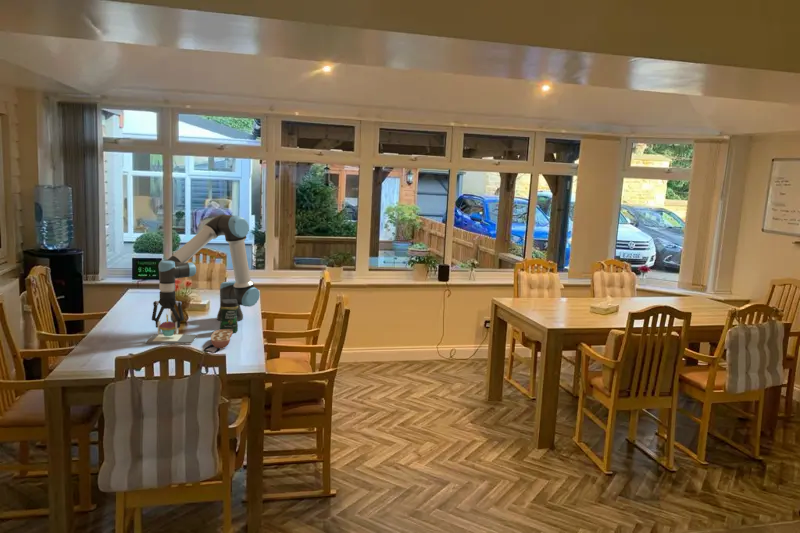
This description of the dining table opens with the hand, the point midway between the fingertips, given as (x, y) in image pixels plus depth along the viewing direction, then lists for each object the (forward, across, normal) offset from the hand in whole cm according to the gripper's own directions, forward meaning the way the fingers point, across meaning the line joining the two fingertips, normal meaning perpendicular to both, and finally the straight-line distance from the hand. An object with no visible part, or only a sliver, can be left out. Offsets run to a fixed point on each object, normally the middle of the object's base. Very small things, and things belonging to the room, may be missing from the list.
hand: (168, 333), depth 305 cm
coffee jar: (+4, +28, +18) cm, 33 cm away
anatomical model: (+4, +28, -6) cm, 29 cm away
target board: (+4, +2, 0) cm, 4 cm away
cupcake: (+1, 0, 0) cm, 1 cm away
